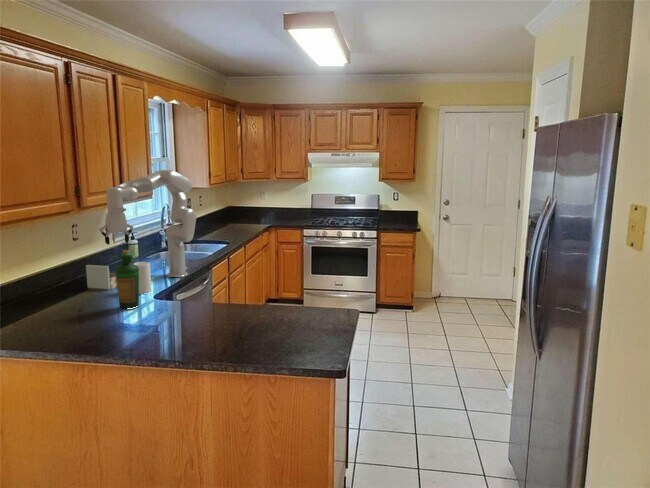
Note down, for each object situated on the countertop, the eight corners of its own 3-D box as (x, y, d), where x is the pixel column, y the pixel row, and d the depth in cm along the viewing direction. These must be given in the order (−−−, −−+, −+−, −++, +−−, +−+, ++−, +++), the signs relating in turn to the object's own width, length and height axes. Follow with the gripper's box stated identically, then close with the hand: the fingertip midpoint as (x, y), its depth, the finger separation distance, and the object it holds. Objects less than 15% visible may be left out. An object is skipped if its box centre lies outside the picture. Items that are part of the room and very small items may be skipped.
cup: (154, 290, 251) (152, 262, 248) (146, 295, 243) (145, 265, 240) (139, 290, 252) (138, 261, 249) (132, 294, 244) (130, 264, 241)
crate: (103, 283, 263) (102, 272, 262) (124, 284, 261) (123, 273, 260) (89, 289, 252) (88, 277, 250) (111, 290, 249) (110, 279, 248)
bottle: (112, 308, 219) (108, 251, 214) (130, 303, 229) (127, 248, 224) (127, 312, 215) (124, 254, 210) (146, 306, 224) (143, 250, 219)
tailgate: (89, 289, 251) (87, 264, 249) (110, 290, 249) (108, 266, 247) (87, 289, 250) (85, 265, 248) (108, 291, 248) (107, 266, 245)
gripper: (129, 209, 249) (131, 240, 252) (95, 211, 237) (97, 243, 240) (135, 210, 243) (136, 242, 246) (100, 212, 232) (102, 245, 235)
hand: (117, 243), depth 243 cm, fingers open, 9 cm apart
